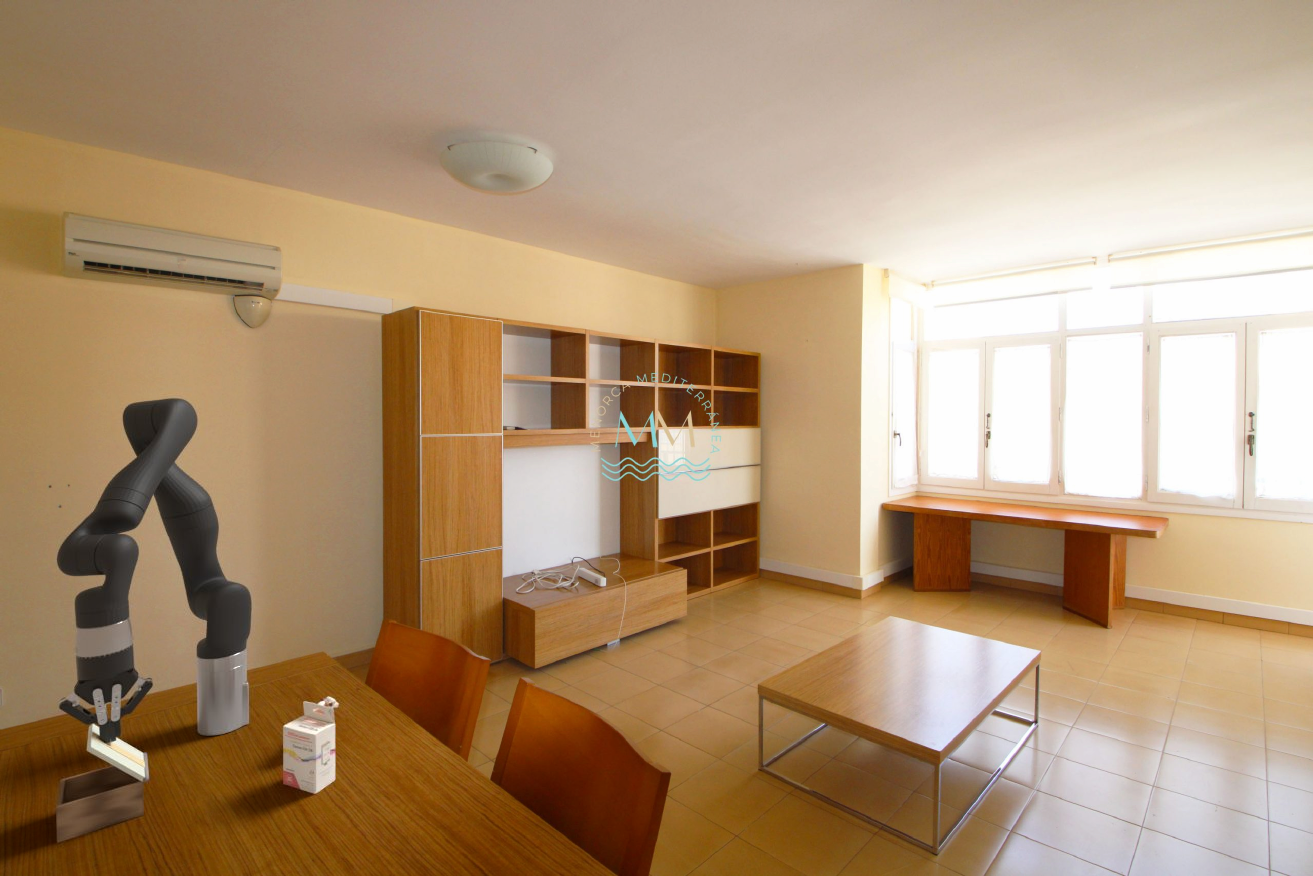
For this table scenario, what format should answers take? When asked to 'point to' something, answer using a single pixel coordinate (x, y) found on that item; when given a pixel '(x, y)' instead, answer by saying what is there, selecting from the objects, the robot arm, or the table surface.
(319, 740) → the ink cartridge box
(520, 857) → the table surface
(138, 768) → the lid
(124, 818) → the box
